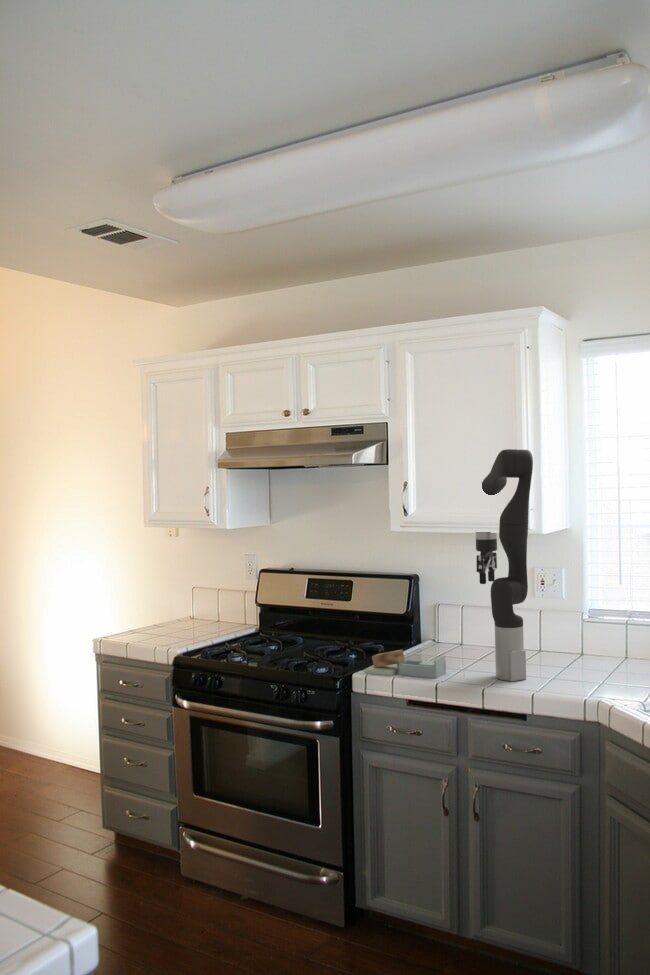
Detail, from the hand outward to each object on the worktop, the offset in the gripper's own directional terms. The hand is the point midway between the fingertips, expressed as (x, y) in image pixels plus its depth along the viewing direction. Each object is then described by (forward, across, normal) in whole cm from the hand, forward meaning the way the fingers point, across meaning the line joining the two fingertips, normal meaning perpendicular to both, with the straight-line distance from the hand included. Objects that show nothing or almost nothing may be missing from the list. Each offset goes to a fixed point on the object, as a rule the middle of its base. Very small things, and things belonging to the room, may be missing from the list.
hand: (487, 582), depth 303 cm
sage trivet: (+28, -32, +26) cm, 50 cm away
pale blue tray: (+28, -30, +12) cm, 43 cm away
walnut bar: (+26, -31, +24) cm, 47 cm away
